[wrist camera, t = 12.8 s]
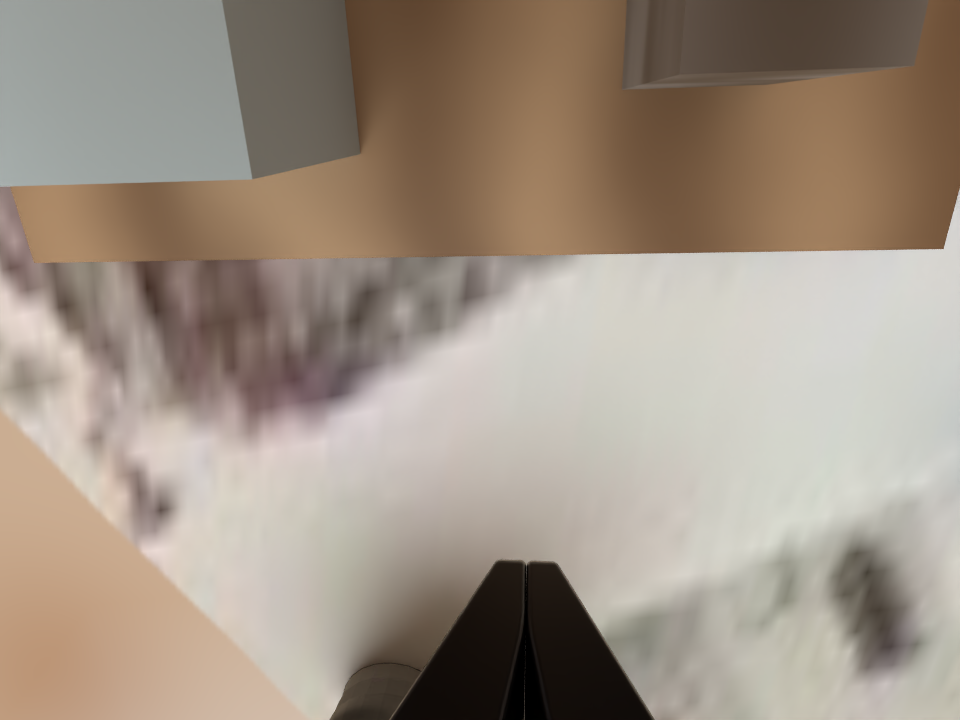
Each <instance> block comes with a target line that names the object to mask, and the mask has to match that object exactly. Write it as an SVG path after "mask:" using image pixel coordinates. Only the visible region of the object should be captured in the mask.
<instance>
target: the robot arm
mask: <svg viewBox="0 0 960 720" xmlns="http://www.w3.org/2000/svg"><path fill="white" fill-rule="evenodd" d="M525 636H526V638H525ZM524 692H525V715H524ZM524 717H525V720H655V719H654V718H653V716H652V715H651V713H650V711H649V710H648V708H647V707H646V705H645V703H644V702H643V700H642V699H641V697H640V695H639V694H638V692H637V690H636V689H635V687H634V686H633V684H632V682H631V681H630V679H629V678H628V676H627V674H626V673H625V671H624V670H623V668H622V666H621V665H620V663H619V662H618V660H617V658H616V657H615V655H614V653H613V652H612V650H611V649H610V647H609V645H608V644H607V642H606V641H605V639H604V637H603V636H602V634H601V633H600V631H599V629H598V628H597V626H596V625H595V623H594V621H593V620H592V618H591V616H590V615H589V613H588V612H587V610H586V608H585V607H584V605H583V604H582V602H581V600H580V599H579V597H578V596H577V594H576V592H575V591H574V589H573V588H572V586H571V584H570V583H569V581H568V579H567V578H566V576H565V575H564V573H563V571H562V570H561V568H560V567H559V565H558V564H557V563H555V562H550V561H530V562H528V564H527V575H526V563H525V562H524V561H522V560H503V559H500V560H497V561H496V562H495V563H494V564H493V566H492V567H491V569H490V570H489V572H488V573H487V575H486V576H485V578H484V579H483V581H482V582H481V584H480V585H479V587H478V588H477V590H476V591H475V593H474V594H473V596H472V597H471V599H470V600H469V602H468V603H467V605H466V606H465V608H464V609H463V611H462V612H461V614H460V615H459V617H458V618H457V620H456V621H455V623H454V624H453V626H452V627H451V629H450V630H449V632H448V633H447V634H446V636H445V637H444V639H443V640H442V642H441V643H440V645H439V646H438V648H437V649H436V651H435V652H434V654H433V655H432V657H431V658H430V660H429V661H428V663H427V664H426V666H425V667H424V669H423V670H422V672H421V673H420V675H419V676H418V678H417V679H416V681H415V682H414V684H413V685H412V687H411V688H410V690H409V691H408V693H407V694H406V696H405V697H404V699H403V700H402V702H401V703H400V705H399V706H398V708H397V709H396V711H395V712H394V714H393V715H392V717H391V718H390V720H524Z"/></svg>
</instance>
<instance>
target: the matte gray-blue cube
mask: <svg viewBox="0 0 960 720" xmlns="http://www.w3.org/2000/svg"><path fill="white" fill-rule="evenodd" d="M359 154H360V146H359V136H358V126H357V116H356V107H355V97H354V87H353V77H352V67H351V58H350V48H349V38H348V28H347V19H346V9H345V0H0V187H5V186H40V185H75V184H110V183H145V182H181V181H216V180H251V179H256V178H261V177H265V176H269V175H273V174H278V173H282V172H286V171H291V170H295V169H299V168H303V167H308V166H312V165H316V164H320V163H325V162H329V161H333V160H337V159H342V158H346V157H350V156H354V155H359Z"/></svg>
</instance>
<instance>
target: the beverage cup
mask: <svg viewBox="0 0 960 720" xmlns="http://www.w3.org/2000/svg"><path fill="white" fill-rule="evenodd" d="M420 673H421V671H418V670H416V669H414V668H411V667H409V666H404V665H399V664H393V663H390V664H375V665H372V666H369V667H366V668H363V669H361V670H360V671H358V672H357V673H356V674H354V675H353V676H352V677H351V678H350V680H349V681H348V683H347V685H346V686H345V689H344V692H343V696H342V698H341V700H340V701H339V703H338V706H337V708H336V710H335V712H334V713H333V715H332V717H331V718H330V720H390V718H391V717H392V715H393V714H394V712H395V711H396V709H397V708H398V706H399V705H400V703H401V702H402V700H403V699H404V697H405V696H406V694H407V693H408V691H409V690H410V688H411V687H412V685H413V684H414V682H415V681H416V679H417V678H418V676H419V675H420Z"/></svg>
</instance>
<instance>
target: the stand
mask: <svg viewBox="0 0 960 720" xmlns="http://www.w3.org/2000/svg"><path fill="white" fill-rule="evenodd" d="M345 9H346V19H347V28H348V38H349V48H350V58H351V67H352V77H353V87H354V97H355V107H356V116H357V126H358V136H359V146H360V154H359V155H354V156H350V157H346V158H342V159H337V160H333V161H329V162H325V163H320V164H316V165H312V166H308V167H303V168H299V169H295V170H291V171H286V172H282V173H278V174H273V175H269V176H265V177H261V178H256V179H251V180H216V181H181V182H145V183H110V184H75V185H40V186H10V187H11V191H12V194H13V197H14V200H15V203H16V206H17V210H18V213H19V216H20V219H21V222H22V225H23V229H24V232H25V235H26V238H27V241H28V245H29V248H30V251H31V254H32V257H33V260H34V263H49V262H115V261H180V260H246V259H312V258H378V257H444V256H509V255H575V254H641V253H707V252H773V251H838V250H904V249H944V245H945V241H946V237H947V233H948V230H949V226H950V222H951V218H952V214H953V211H954V207H955V203H956V199H957V196H958V192H959V188H960V0H345Z"/></svg>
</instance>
